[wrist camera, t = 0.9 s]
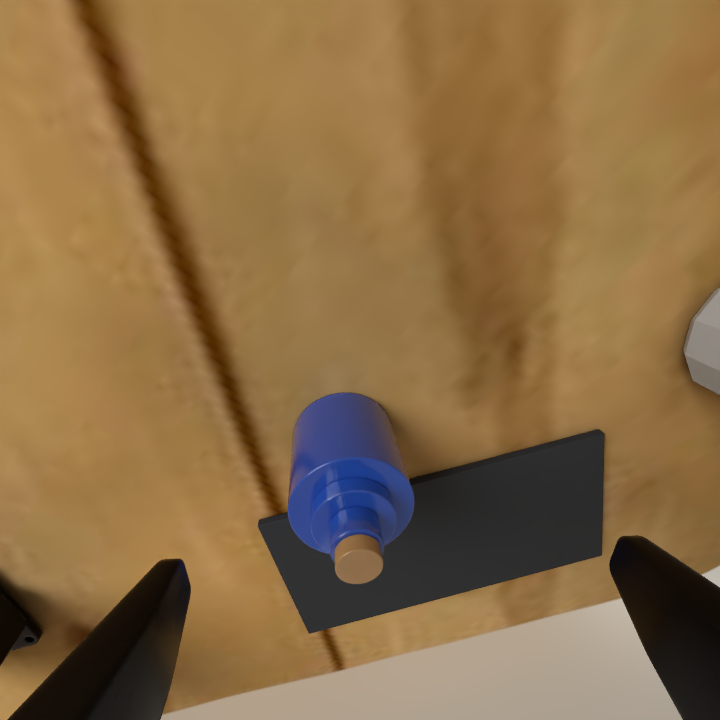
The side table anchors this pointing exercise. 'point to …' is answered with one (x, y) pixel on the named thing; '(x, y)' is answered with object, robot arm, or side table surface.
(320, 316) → the side table surface
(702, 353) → the water bottle
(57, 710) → the robot arm
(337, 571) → the flask
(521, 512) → the mat
